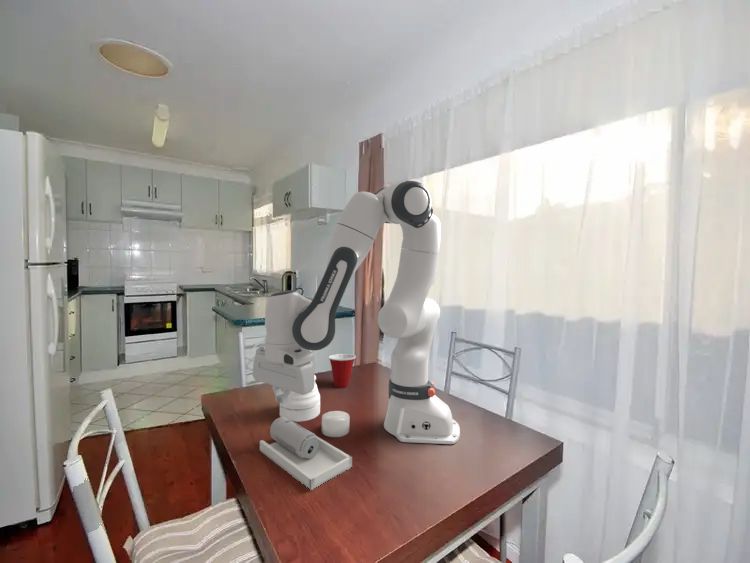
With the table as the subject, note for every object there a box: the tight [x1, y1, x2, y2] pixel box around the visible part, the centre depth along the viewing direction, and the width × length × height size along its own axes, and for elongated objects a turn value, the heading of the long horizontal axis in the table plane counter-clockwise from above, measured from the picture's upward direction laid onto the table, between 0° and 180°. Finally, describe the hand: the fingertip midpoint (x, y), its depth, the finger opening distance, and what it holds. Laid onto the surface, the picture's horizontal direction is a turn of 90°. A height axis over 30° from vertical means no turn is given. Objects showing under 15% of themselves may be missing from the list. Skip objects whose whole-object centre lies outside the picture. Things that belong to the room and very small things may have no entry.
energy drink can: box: [269, 416, 320, 458], centre depth 89 cm, size 6×6×15 cm
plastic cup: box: [328, 353, 357, 389], centre depth 136 cm, size 11×11×12 cm
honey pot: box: [279, 374, 321, 423], centre depth 111 cm, size 13×13×18 cm
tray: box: [259, 436, 353, 491], centre depth 85 cm, size 22×12×2 cm, turn 47°
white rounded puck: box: [321, 410, 351, 438], centre depth 100 cm, size 8×8×4 cm
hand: (281, 402), depth 92 cm, fingers closed
